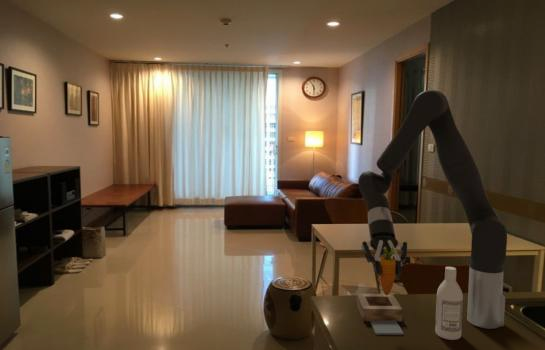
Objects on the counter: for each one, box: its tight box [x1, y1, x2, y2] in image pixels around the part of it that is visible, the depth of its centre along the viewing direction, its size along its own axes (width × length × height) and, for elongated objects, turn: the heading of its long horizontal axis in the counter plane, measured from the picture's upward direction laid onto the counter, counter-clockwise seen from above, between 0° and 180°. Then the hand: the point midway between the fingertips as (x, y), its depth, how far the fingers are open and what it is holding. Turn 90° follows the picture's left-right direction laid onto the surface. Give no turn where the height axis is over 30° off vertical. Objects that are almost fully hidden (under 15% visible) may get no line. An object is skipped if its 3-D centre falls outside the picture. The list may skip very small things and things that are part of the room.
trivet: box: [369, 320, 404, 336], centre depth 123 cm, size 8×8×1 cm
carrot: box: [379, 247, 396, 295], centre depth 121 cm, size 5×5×15 cm
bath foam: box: [434, 266, 464, 341], centre depth 117 cm, size 7×7×20 cm
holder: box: [356, 293, 403, 323], centre depth 133 cm, size 12×12×4 cm
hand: (389, 274), depth 119 cm, fingers closed on carrot, 5 cm apart
